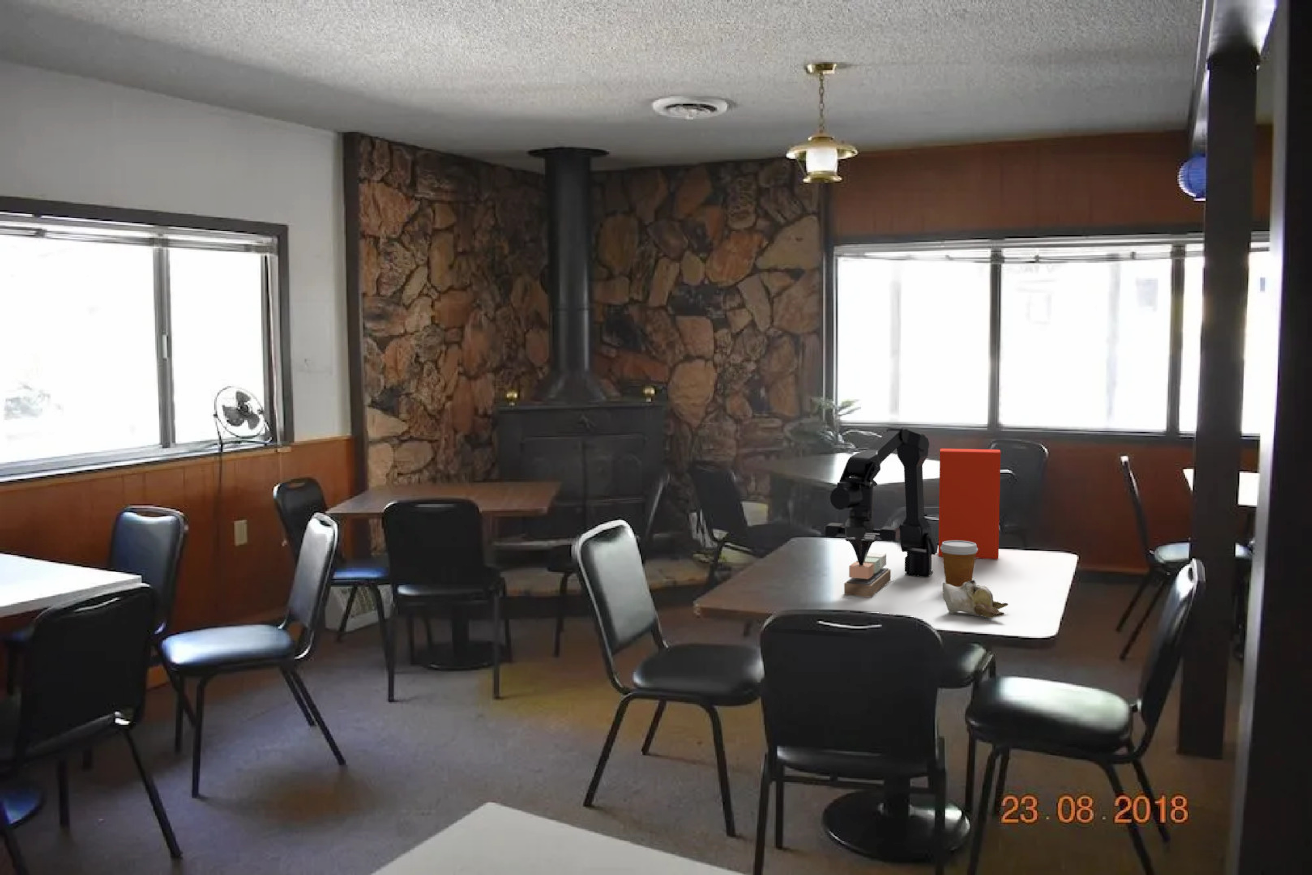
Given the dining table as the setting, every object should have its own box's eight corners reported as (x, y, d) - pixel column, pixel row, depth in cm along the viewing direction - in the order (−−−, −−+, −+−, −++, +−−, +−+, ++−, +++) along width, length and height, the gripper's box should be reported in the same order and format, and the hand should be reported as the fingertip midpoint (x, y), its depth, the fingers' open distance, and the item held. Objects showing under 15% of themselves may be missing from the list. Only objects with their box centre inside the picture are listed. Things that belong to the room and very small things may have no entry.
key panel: (890, 580, 293) (890, 568, 293) (871, 597, 274) (871, 584, 274) (865, 578, 296) (865, 565, 296) (844, 594, 277) (844, 581, 277)
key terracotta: (873, 575, 280) (873, 563, 279) (868, 578, 275) (868, 567, 275) (854, 573, 282) (854, 562, 281) (849, 577, 277) (849, 565, 277)
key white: (886, 564, 292) (886, 553, 292) (881, 568, 288) (881, 557, 287) (867, 563, 294) (868, 552, 294) (863, 566, 290) (863, 555, 290)
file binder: (998, 559, 319) (1000, 452, 316) (938, 556, 324) (939, 451, 321) (997, 554, 327) (999, 449, 324) (938, 551, 332) (940, 448, 329)
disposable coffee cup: (957, 594, 276) (958, 548, 275) (932, 587, 285) (932, 542, 284) (985, 590, 281) (986, 544, 280) (959, 582, 289) (960, 538, 288)
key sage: (879, 569, 286) (880, 558, 286) (875, 573, 281) (875, 562, 281) (861, 568, 288) (861, 557, 288) (856, 571, 283) (856, 560, 283)
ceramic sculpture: (946, 571, 263) (1010, 579, 257) (943, 605, 264) (1007, 615, 258) (939, 581, 253) (1006, 590, 248) (936, 616, 254) (1003, 626, 249)
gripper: (817, 507, 273) (817, 567, 275) (890, 511, 265) (890, 574, 267) (830, 501, 283) (829, 559, 285) (900, 505, 275) (900, 565, 277)
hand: (861, 564), depth 278 cm, fingers closed, pressing on key terracotta
